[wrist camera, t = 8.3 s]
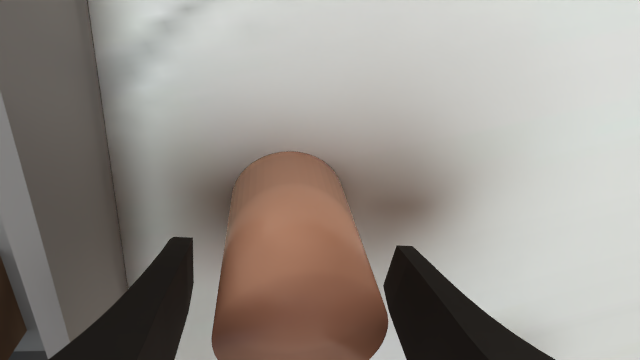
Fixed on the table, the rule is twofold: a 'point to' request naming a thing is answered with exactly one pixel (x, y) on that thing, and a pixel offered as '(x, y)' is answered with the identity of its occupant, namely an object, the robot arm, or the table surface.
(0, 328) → the walnut block
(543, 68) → the table surface
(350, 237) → the terracotta cylinder
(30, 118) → the tote
